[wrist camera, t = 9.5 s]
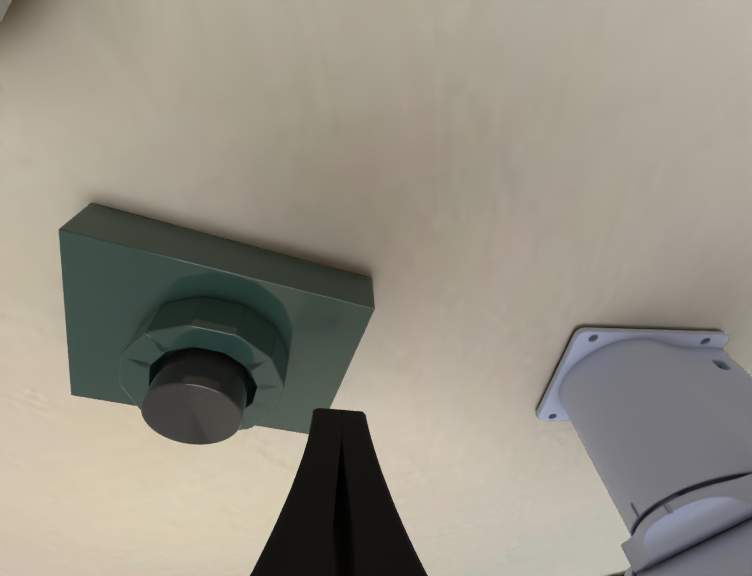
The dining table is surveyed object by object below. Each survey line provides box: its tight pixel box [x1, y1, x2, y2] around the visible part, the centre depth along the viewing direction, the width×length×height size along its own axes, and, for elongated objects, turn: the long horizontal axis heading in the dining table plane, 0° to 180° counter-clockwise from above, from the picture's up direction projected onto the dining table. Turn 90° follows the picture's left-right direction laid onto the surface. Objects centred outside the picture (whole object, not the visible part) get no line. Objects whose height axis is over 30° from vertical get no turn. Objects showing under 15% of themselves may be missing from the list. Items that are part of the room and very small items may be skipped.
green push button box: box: [59, 203, 375, 434], centre depth 20 cm, size 13×10×4 cm
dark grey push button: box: [141, 348, 251, 445], centre depth 18 cm, size 4×4×2 cm
